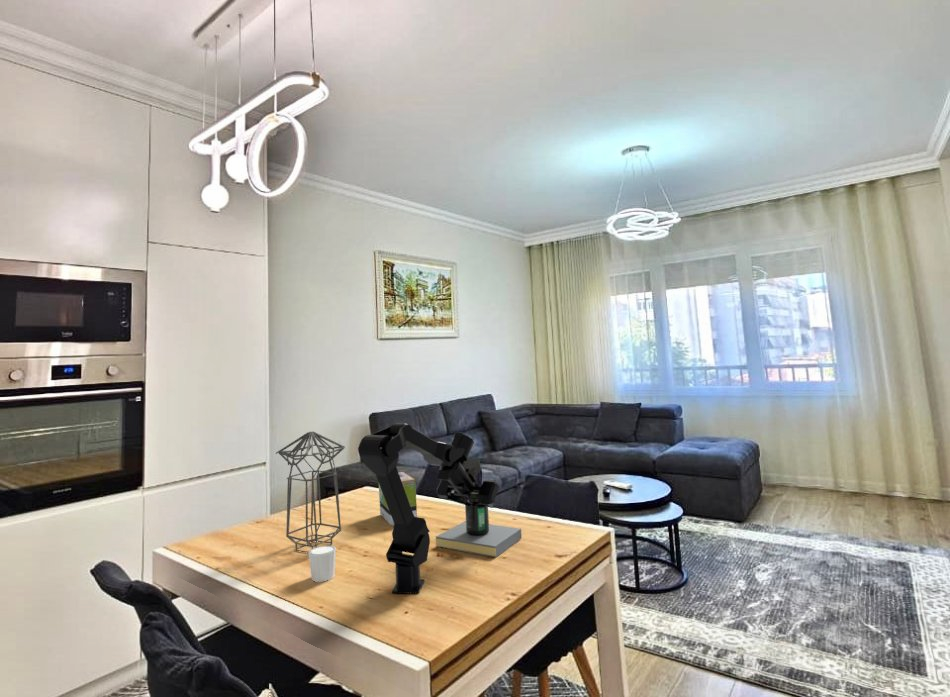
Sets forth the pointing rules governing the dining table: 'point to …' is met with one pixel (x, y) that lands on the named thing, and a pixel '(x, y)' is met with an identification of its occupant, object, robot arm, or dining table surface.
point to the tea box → (410, 492)
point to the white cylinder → (322, 563)
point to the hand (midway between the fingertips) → (478, 504)
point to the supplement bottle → (476, 516)
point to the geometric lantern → (297, 448)
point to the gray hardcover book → (479, 540)
